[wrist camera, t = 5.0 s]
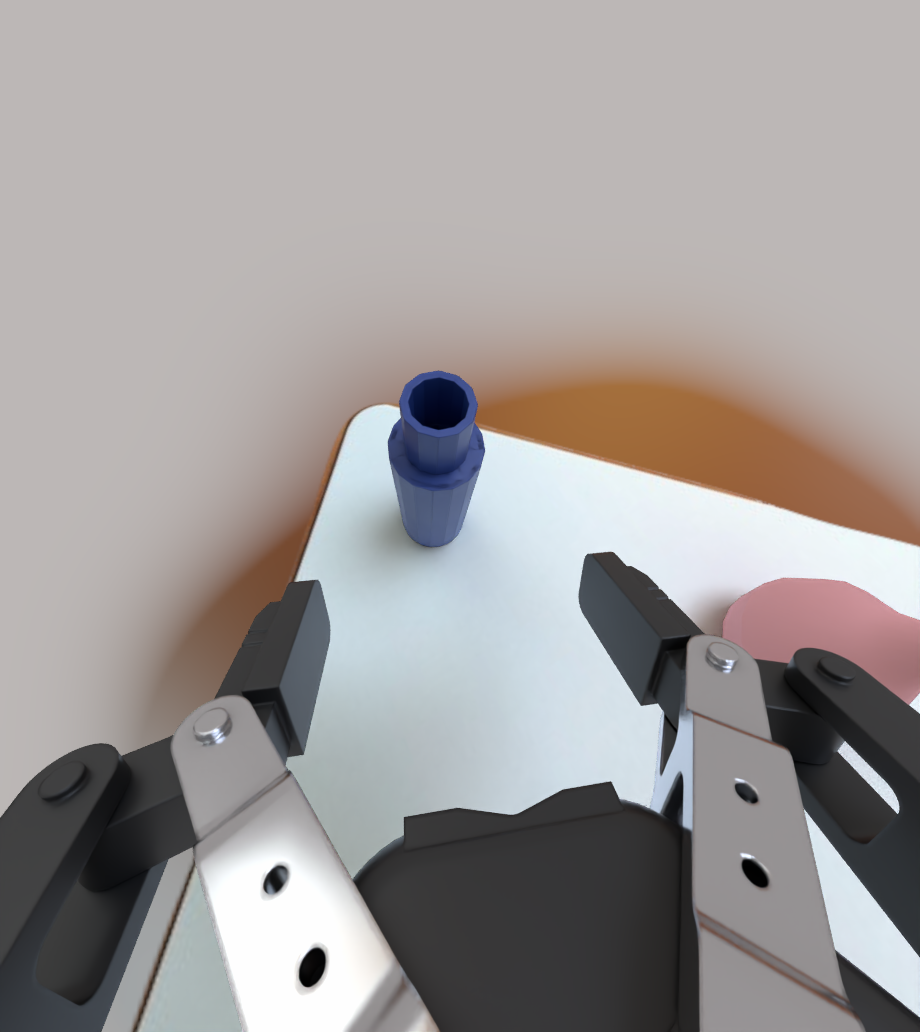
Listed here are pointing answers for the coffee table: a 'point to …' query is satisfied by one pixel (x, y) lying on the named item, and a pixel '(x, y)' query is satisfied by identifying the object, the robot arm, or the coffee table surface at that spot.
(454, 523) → the bottle
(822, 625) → the pink bud vase
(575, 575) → the coffee table surface
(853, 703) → the robot arm
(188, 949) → the coffee table surface
